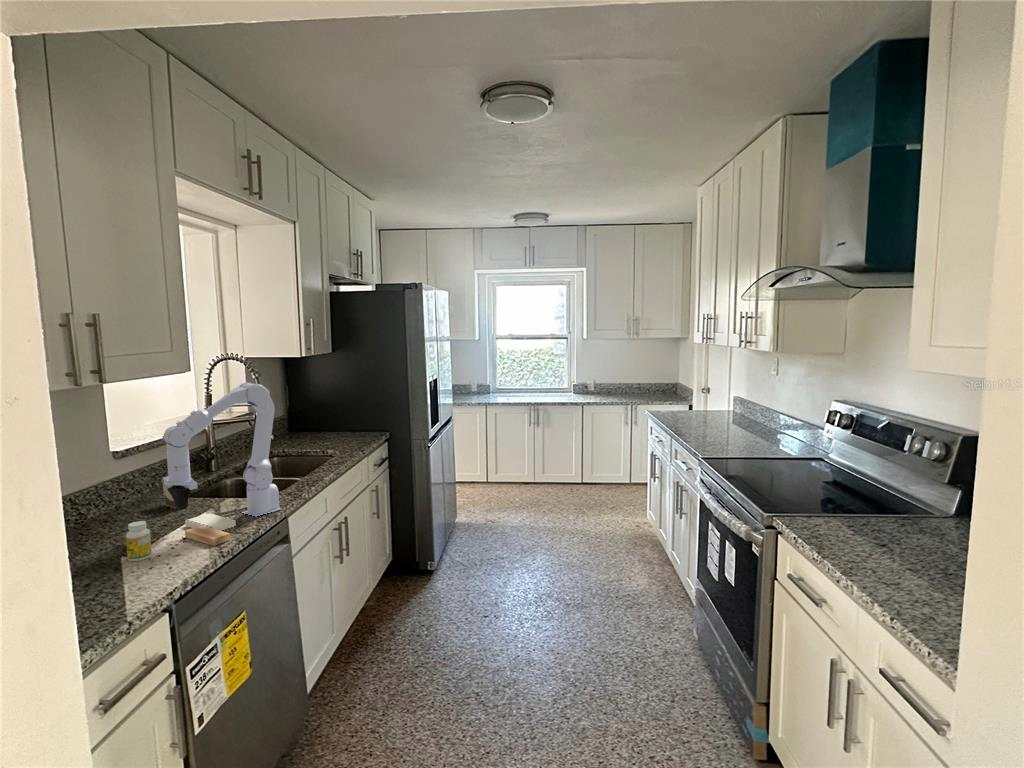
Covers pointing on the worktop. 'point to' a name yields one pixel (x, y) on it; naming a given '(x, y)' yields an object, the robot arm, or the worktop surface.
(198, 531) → the tan flat block
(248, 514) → the robot arm
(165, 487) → the food container
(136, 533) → the supplement bottle
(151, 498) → the worktop surface
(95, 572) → the worktop surface
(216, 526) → the board
